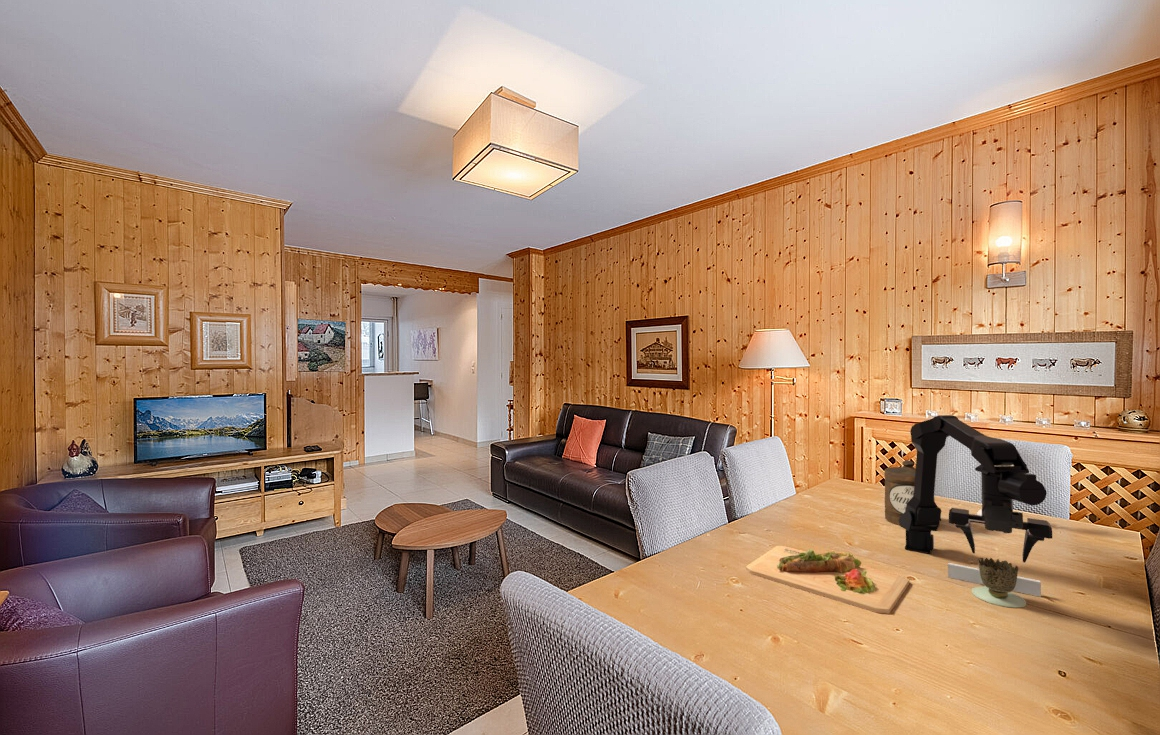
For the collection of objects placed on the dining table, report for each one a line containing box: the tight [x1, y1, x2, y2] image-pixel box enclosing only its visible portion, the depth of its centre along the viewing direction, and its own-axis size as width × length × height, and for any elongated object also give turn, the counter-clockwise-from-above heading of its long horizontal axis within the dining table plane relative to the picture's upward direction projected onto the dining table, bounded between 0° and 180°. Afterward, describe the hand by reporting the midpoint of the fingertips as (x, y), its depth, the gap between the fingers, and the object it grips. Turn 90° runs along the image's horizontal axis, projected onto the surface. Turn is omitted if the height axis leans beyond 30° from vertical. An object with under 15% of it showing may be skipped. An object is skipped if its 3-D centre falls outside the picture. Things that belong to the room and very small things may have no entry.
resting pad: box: [971, 586, 1027, 609], centre depth 117 cm, size 10×10×1 cm
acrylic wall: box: [947, 562, 1042, 598], centre depth 123 cm, size 18×1×4 cm, turn 50°
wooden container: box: [884, 459, 936, 526], centre depth 173 cm, size 15×15×22 cm
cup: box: [977, 557, 1019, 598], centre depth 117 cm, size 8×7×8 cm
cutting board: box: [745, 545, 910, 614], centre depth 131 cm, size 35×23×8 cm
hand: (998, 557), depth 117 cm, fingers open, 9 cm apart
